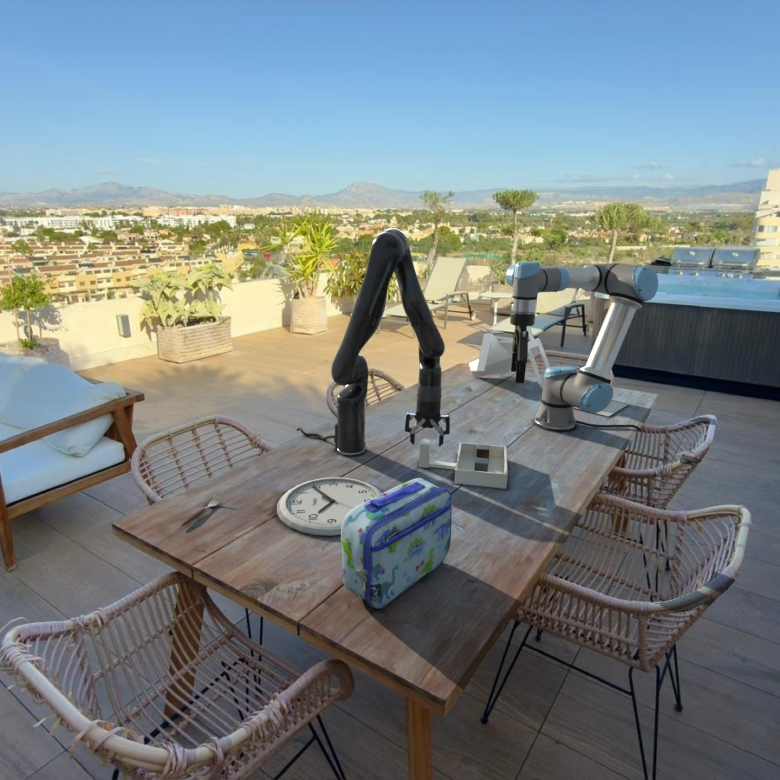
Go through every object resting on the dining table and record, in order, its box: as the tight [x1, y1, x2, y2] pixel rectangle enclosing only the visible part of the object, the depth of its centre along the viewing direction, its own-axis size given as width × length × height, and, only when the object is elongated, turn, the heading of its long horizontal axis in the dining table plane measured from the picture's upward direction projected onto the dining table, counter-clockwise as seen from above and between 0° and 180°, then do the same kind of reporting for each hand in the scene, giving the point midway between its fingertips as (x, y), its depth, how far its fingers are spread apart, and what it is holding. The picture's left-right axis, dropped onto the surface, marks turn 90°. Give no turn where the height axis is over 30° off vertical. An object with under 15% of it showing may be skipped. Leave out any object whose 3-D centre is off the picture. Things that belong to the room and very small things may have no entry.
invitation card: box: [573, 400, 628, 418], centre depth 226 cm, size 21×1×15 cm
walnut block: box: [476, 443, 490, 463], centre depth 169 cm, size 4×4×5 cm
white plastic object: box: [468, 326, 551, 390], centre depth 259 cm, size 37×45×31 cm
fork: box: [180, 491, 225, 527], centre depth 138 cm, size 3×16×2 cm, turn 160°
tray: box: [418, 438, 509, 490], centre depth 165 cm, size 27×21×8 cm
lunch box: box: [340, 477, 452, 610], centre depth 110 cm, size 26×11×21 cm, turn 134°
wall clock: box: [276, 476, 383, 537], centre depth 143 cm, size 30×2×30 cm
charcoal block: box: [474, 457, 488, 472], centre depth 160 cm, size 4×4×5 cm
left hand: (426, 444), depth 168 cm, fingers open, 8 cm apart
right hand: (517, 377), depth 171 cm, fingers open, 13 cm apart
